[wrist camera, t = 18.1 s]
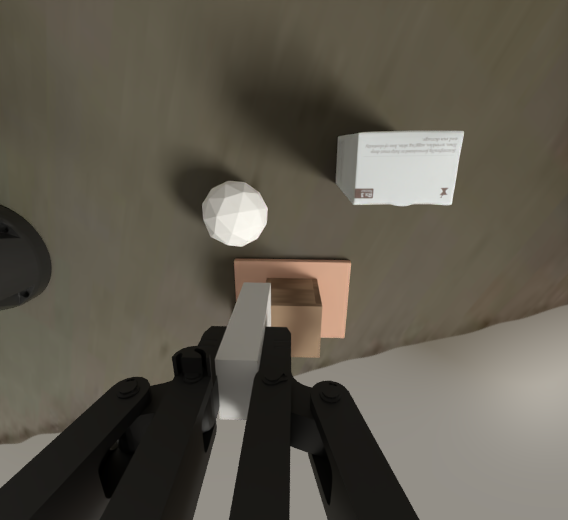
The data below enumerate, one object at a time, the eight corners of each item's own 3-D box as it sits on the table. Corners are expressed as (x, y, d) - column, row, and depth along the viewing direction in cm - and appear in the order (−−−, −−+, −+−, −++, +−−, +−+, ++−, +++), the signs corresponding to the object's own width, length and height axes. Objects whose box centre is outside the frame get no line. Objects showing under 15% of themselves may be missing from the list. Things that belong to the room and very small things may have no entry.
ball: (233, 193, 42) (212, 157, 34) (283, 215, 40) (273, 182, 32) (204, 239, 40) (176, 213, 33) (255, 264, 38) (237, 242, 31)
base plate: (239, 331, 46) (237, 335, 45) (235, 258, 42) (234, 260, 41) (343, 334, 46) (344, 337, 45) (349, 260, 42) (351, 262, 41)
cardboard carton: (267, 321, 44) (262, 356, 37) (266, 277, 42) (261, 305, 34) (314, 322, 44) (319, 357, 36) (316, 278, 42) (322, 306, 34)
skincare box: (403, 135, 36) (473, 124, 22) (397, 186, 38) (458, 206, 24) (333, 136, 36) (358, 126, 22) (331, 187, 38) (353, 207, 24)
